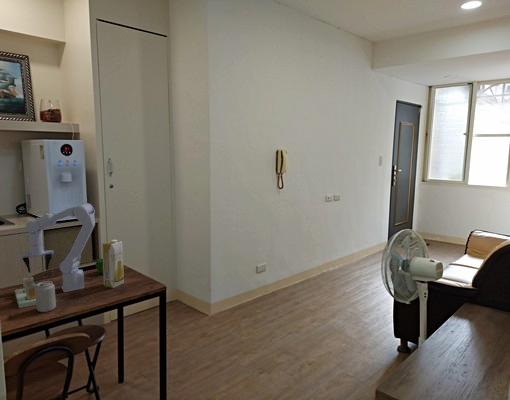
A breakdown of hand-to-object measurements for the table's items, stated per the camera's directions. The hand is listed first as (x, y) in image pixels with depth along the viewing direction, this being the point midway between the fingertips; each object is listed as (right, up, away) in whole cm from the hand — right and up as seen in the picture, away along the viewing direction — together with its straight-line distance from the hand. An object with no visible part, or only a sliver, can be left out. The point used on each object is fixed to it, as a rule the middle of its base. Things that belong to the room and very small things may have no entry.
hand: (38, 270), depth 188 cm
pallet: (+2, -11, -10) cm, 15 cm away
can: (+16, -13, -22) cm, 31 cm away
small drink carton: (-1, -10, -6) cm, 12 cm away
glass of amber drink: (+5, -12, -14) cm, 19 cm away
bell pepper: (+23, -6, +26) cm, 35 cm away
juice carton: (+35, -9, +8) cm, 37 cm away
